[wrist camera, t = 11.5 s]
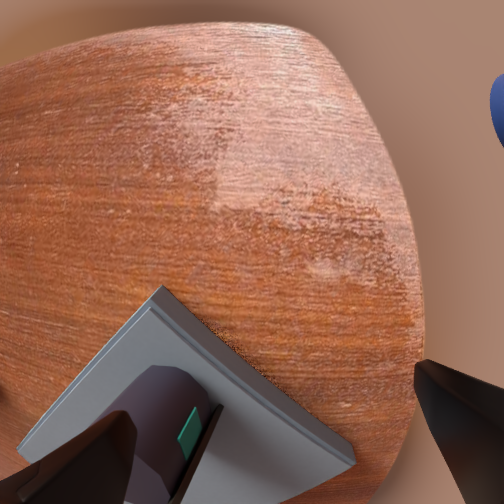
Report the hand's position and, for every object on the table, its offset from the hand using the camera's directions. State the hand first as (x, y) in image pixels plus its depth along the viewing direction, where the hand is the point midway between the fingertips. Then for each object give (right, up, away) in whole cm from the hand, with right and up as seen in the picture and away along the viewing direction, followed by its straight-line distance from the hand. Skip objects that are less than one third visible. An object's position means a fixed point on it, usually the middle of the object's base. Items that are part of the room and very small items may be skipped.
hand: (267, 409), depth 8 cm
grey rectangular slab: (-10, -16, +18) cm, 26 cm away
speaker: (-6, -6, +12) cm, 15 cm away
